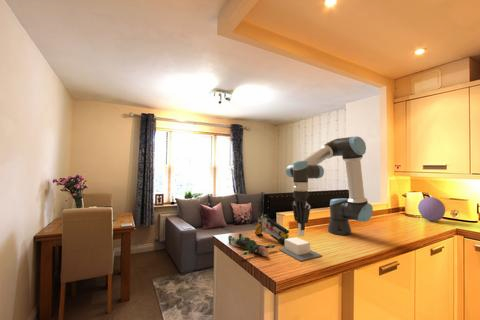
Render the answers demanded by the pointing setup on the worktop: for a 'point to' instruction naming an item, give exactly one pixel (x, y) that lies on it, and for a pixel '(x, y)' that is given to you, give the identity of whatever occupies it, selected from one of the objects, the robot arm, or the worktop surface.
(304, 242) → the cream rectangular block
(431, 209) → the ball
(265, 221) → the toy gun
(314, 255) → the mat
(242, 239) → the figurine
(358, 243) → the worktop surface
